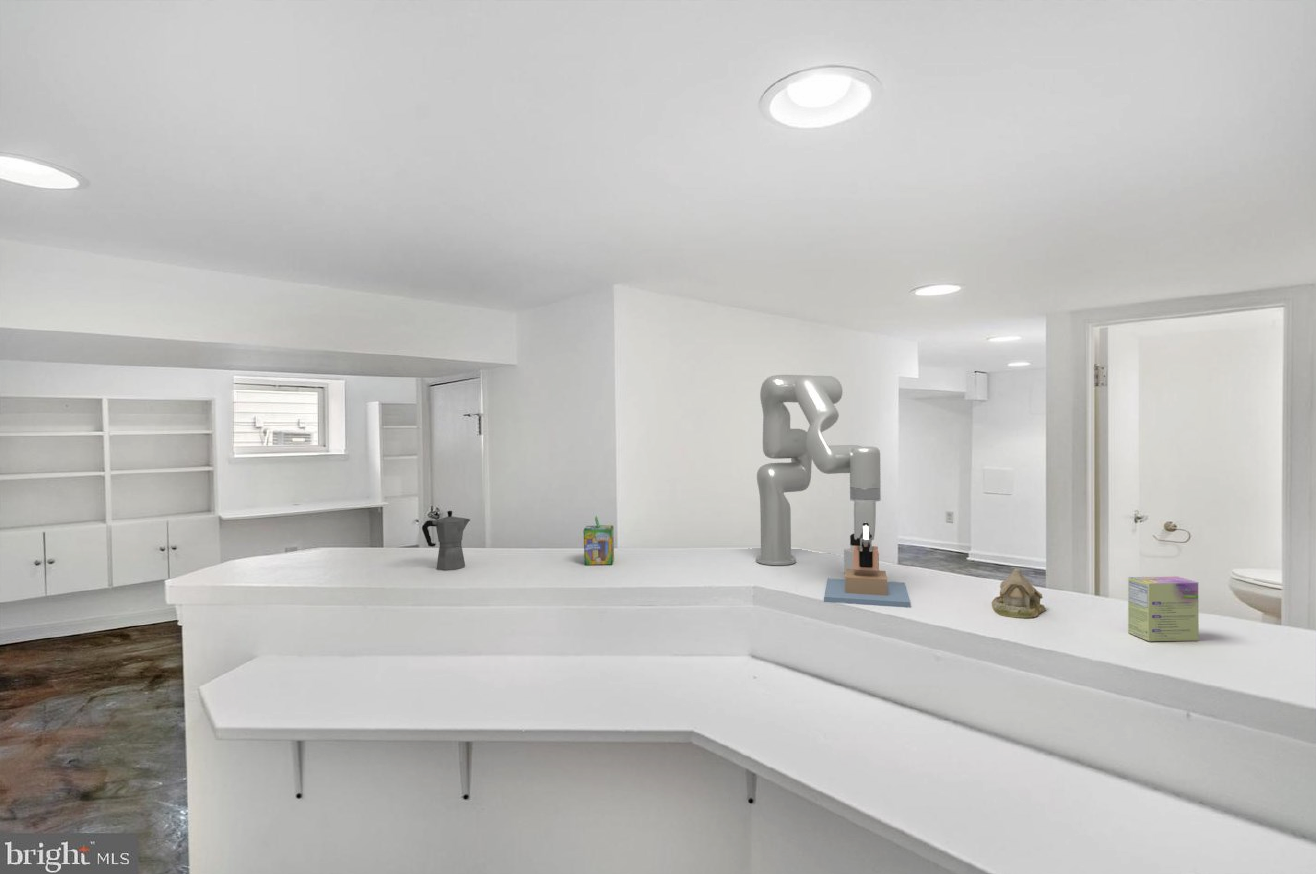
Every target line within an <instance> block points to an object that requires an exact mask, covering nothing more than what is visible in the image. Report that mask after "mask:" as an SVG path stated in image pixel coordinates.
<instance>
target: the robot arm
mask: <svg viewBox="0 0 1316 874" xmlns="http://www.w3.org/2000/svg"><path fill="white" fill-rule="evenodd" d="M842 396H843V387H842V384H841V382H840V381H839V380H838V379H837V378H836V377H835V376H832V375H811V374H810V375H805V374H804V375H803V374H776V375H771V376H768V377H767V378H766V379H765V380H764V381H763V382H762V384H761V387H760V396H759V398H760V404H761V408H762V409H761V410H762V414H763V416H762V452H763V454H764V456H765V457H766V458H769V459H776V460H777V459H790V462H768V463H765V464H763V465H761V466H760V467H759V468H758V470H757V472H756V481H757V487H758V492H759V507H760V508H759V512H760V513H759V514H760V555H757V556H756V557H755V562H757V563H759V564H761V565H768V566H789V565H794V564H795V563H797V558H796V557H795V556H794V555H793V556H792V546H791V545H792V533H791V532H792V531H791V530H792V529H791V523H792V522H791V520H792V519H791V518H792V516H791V514H792V513H791V510H792V509H791V504H790V502H789V500H788V498H787V497H786V495H785V494H784V493H795V492H796V493H797V492H803V491H806V490H807V489H808V488H809V486H810V484H811V479H812V466H813V465H812V462H813V464H814V466H815V467H816V469H818V470H819V471H820V472H821V473H823V474H827V475H831V474H834V475H835V474H849V501H852V502H853V534H854V539H855V540H857V538H860V551H859V566H860V567H868V568H872V567H873V552H872V546H873V545H872V546H871V541H872V542H873V541H874V539H875V536H876V535H875V534H876V533H875V532H876V523H877V522H876V520H877V519H876V513H877V512H876V511H877V509H876V506H877V503H876V502H880V501H881V500H882V499H881V498H882V495H881V493H882V492H881V486H882V485H881V482H882V481H881V450H880V449H879V448H878V447H876V446H862V445H856V444H843V445H841V444H838V445H835V444H834V445H832V444H831V445H829V444H828V443H827V441H826V439H825V438H824V437H823V434H822V433H823V432H824V431H827V430H829V429H830V428H832V427H833V426H835V424H836V423H837V421H838V419H839V416H840V415H839V414H840V413H839V411H838V409H837V408H836V406H835V405H837V403H839V401H840V400H841V399H842ZM785 403H798V405H799V407H800V409H801V411H802V413H803V415H804V416H805V419H806V420H807V422H808V424H809V426H808V429H807V431H806V430H805V429H803V428H791V413H790V411H789V409H788V407H787V405H786V404H785ZM871 539H872V540H871ZM862 550H863V551H862Z"/></svg>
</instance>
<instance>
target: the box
mask: <svg viewBox="0 0 1316 874" xmlns="http://www.w3.org/2000/svg"><path fill="white" fill-rule="evenodd" d="M1127 593H1128V594H1127V597H1128V598H1127V621H1128V623H1127V625H1128V626H1127V627H1128V628H1127V632H1128V634H1129V635H1132V636H1134V637H1137V638H1139V639H1141V640H1144V641H1147V642H1172V641H1173V642H1187V641H1188V642H1189V641H1190V642H1192V641H1193V642H1196V641H1197V642H1198V641H1199V636H1200V635H1199V626H1200V625H1199V582H1198V581H1195V580H1192V579H1187V578H1184V577H1179V576H1128V577H1127Z"/></svg>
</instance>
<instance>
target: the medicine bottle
mask: <svg viewBox="0 0 1316 874" xmlns="http://www.w3.org/2000/svg"><path fill="white" fill-rule="evenodd" d="M871 540H872V539H871ZM849 541H850V544H849V546H850V548H844V549H843V564H844V565H843V566H844V568H843V569H844V570H843V572H844V574H846V569H853V547H854V546H860V538H857V540H855V539H854V533H852V534H850V535H849ZM871 546H873V540H872V541H871ZM879 556H880V553H879V552H878V570H880V568H879V565H880V562H879V559H880V557H879Z"/></svg>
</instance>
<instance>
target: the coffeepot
mask: <svg viewBox="0 0 1316 874" xmlns="http://www.w3.org/2000/svg"><path fill="white" fill-rule="evenodd" d="M446 512H447V516H446V517H441V518H439V519H434V520H432V519H431V520H426V521H425V522H424V523H423V525H422V527H421V530H422V532H423V535H424V538H425V540H426V543H427V545H428V547H435V546H436V545H437V544H436V543H435V542H432V537H431V536H430V530H429V527H435V529H436V534H437V539H438V543H439V548H438V553H437V554H438V556H437V560H436V561H437V563H436V569H437V570H438V569H439V571H455V570H456V571H457V570H461V569H463V568H465V567H466V562H465V556H464V552H463V545H462V541H463V536H464V535H463V534H464V530H465V529H466V527H467V525H468V524H469V522H471V519H470V518H464V517H457V516H453V511H452V510H448V511H446Z"/></svg>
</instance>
